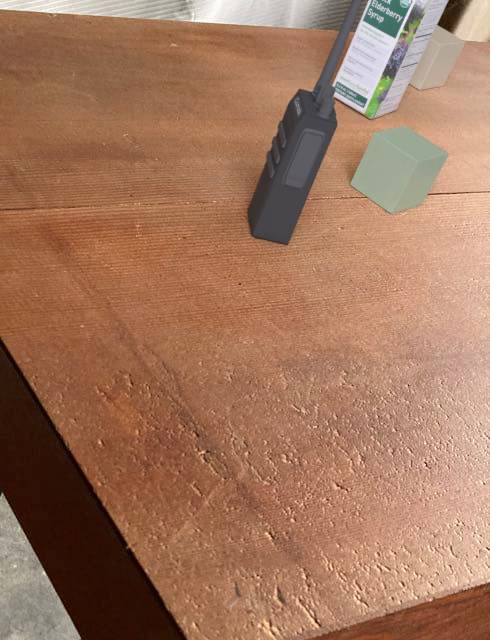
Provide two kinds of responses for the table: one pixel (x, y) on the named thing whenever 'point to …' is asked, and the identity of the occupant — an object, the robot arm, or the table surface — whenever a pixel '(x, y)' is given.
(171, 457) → the table surface
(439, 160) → the sage block
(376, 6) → the syrup box
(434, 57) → the cream block
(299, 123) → the walkie-talkie
